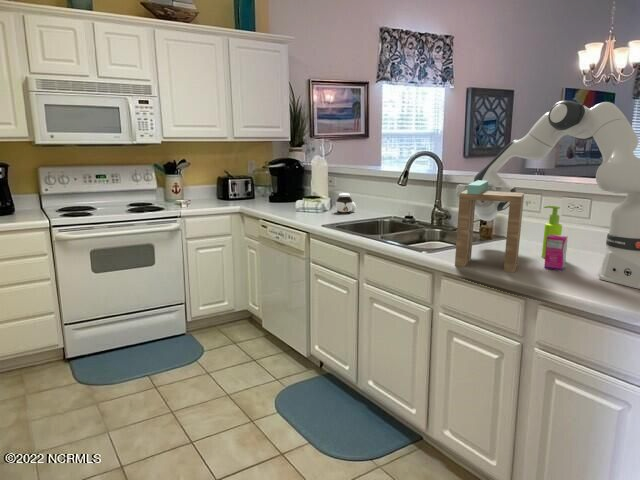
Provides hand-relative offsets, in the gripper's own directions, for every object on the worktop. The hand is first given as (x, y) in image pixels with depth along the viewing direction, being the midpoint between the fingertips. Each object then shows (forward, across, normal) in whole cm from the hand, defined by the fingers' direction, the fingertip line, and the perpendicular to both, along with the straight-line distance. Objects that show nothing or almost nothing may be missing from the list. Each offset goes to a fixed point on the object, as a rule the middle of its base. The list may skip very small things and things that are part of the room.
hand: (481, 184), depth 184 cm
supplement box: (-9, -28, -27) cm, 40 cm away
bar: (+5, 0, -5) cm, 7 cm away
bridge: (-3, -5, -30) cm, 31 cm away
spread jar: (-87, +90, +18) cm, 126 cm away
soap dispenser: (-23, -26, -19) cm, 40 cm away
